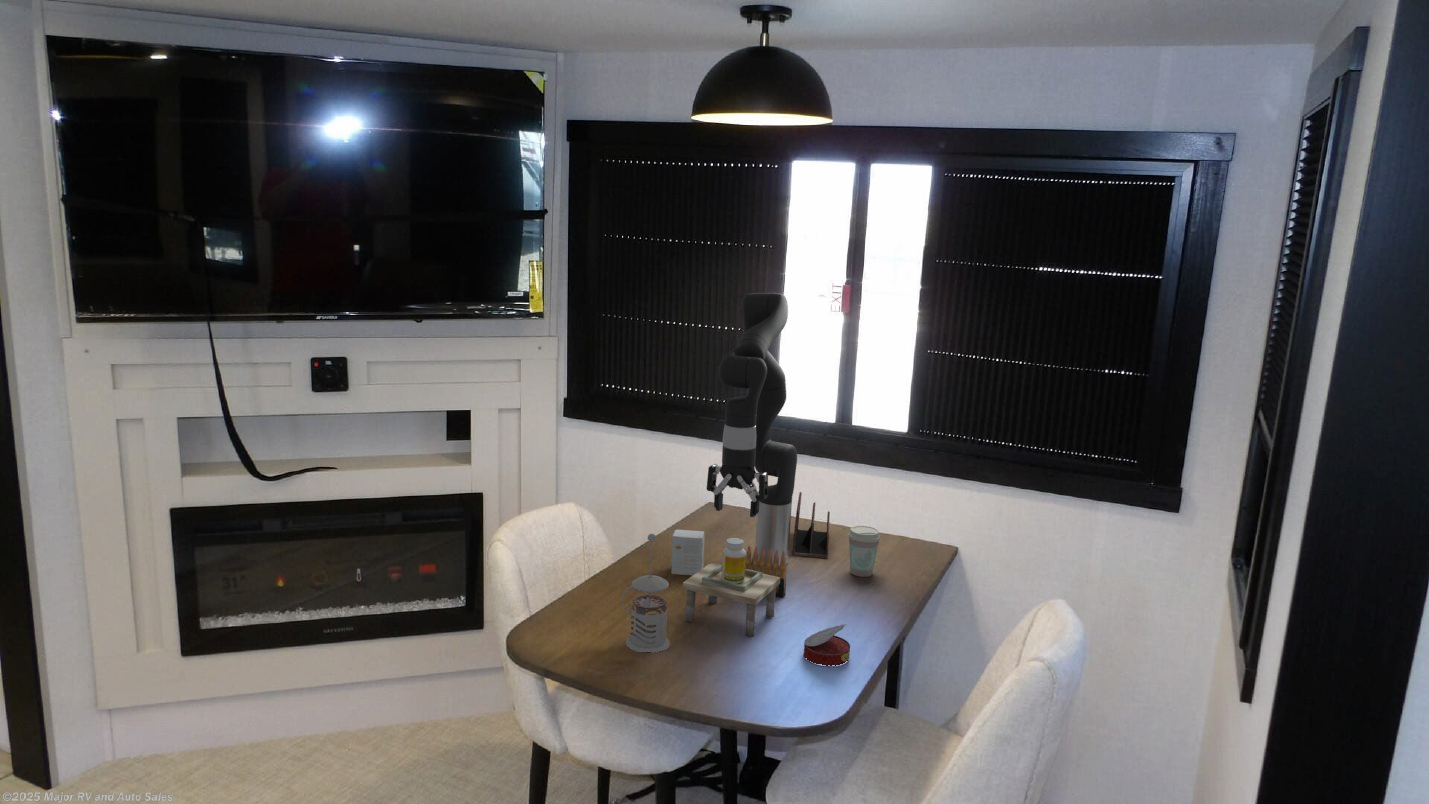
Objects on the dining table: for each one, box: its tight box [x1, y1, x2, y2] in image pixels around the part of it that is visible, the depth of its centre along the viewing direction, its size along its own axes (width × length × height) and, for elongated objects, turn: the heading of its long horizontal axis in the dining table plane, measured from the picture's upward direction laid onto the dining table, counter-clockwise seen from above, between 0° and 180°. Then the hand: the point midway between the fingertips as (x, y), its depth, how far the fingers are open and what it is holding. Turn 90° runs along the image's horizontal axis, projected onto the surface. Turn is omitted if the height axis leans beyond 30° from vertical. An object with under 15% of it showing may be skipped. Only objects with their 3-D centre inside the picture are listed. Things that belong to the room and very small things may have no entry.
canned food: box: [803, 623, 851, 666], centre depth 207 cm, size 11×10×10 cm
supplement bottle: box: [721, 537, 747, 584], centre depth 222 cm, size 5×5×10 cm
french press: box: [621, 533, 671, 653], centre depth 209 cm, size 10×12×25 cm
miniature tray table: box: [682, 562, 780, 638], centre depth 224 cm, size 15×18×11 cm
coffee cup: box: [847, 525, 881, 578], centre depth 257 cm, size 8×8×12 cm
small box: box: [671, 529, 705, 576], centre depth 252 cm, size 8×6×10 cm
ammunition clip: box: [745, 545, 787, 599], centre depth 240 cm, size 11×2×12 cm, turn 72°
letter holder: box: [791, 491, 831, 559], centre depth 276 cm, size 10×20×14 cm, turn 173°
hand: (735, 513), depth 220 cm, fingers open, 8 cm apart
